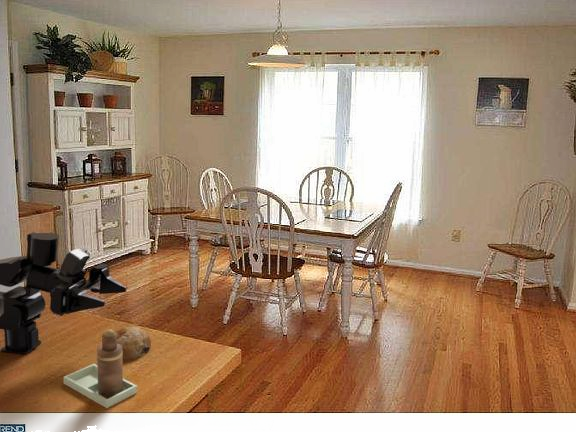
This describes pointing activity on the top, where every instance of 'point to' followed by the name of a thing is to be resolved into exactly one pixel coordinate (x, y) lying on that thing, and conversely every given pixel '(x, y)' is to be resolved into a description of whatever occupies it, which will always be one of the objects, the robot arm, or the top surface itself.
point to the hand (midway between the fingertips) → (115, 296)
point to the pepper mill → (109, 365)
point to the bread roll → (133, 342)
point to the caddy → (96, 386)
